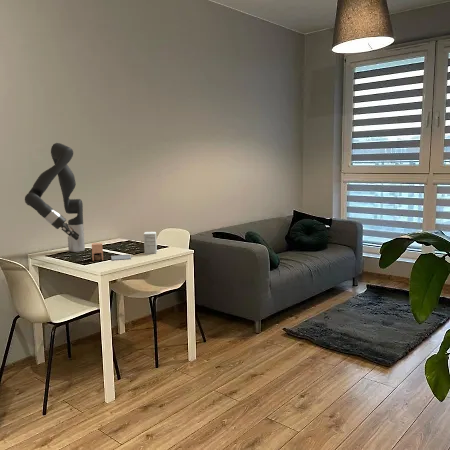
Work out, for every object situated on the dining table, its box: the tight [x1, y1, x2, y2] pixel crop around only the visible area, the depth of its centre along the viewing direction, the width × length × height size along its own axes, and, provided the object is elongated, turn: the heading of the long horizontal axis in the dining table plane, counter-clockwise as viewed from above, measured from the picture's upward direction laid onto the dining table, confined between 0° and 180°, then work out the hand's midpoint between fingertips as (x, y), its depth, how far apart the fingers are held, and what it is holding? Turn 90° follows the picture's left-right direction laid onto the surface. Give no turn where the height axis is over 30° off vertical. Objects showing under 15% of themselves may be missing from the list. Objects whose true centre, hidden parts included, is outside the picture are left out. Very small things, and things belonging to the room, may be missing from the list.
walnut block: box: [94, 254, 102, 261], centre depth 266 cm, size 3×3×3 cm
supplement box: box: [143, 231, 158, 255], centre depth 283 cm, size 7×7×13 cm
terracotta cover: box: [91, 242, 104, 262], centre depth 266 cm, size 6×6×10 cm
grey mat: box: [110, 254, 132, 262], centre depth 270 cm, size 11×11×1 cm
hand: (78, 237), depth 261 cm, fingers open, 8 cm apart
